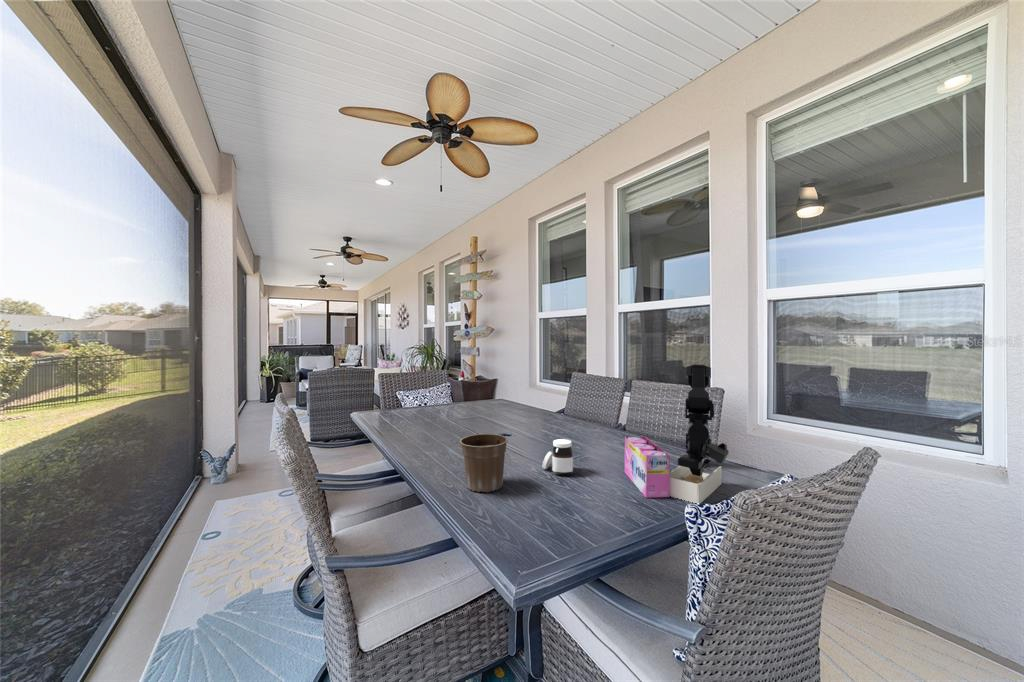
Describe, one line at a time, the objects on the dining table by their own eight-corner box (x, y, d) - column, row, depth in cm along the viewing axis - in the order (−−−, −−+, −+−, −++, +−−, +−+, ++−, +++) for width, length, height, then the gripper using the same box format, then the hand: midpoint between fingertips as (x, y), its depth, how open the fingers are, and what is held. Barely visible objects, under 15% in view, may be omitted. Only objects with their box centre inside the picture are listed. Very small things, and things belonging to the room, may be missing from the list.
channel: (663, 494, 131) (663, 476, 131) (688, 476, 147) (688, 459, 147) (699, 504, 123) (699, 485, 123) (721, 483, 139) (721, 466, 139)
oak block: (685, 489, 128) (685, 477, 128) (690, 486, 131) (690, 473, 131) (698, 493, 125) (698, 480, 125) (703, 489, 128) (703, 476, 128)
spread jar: (574, 477, 146) (574, 445, 146) (543, 477, 146) (542, 445, 146) (570, 466, 158) (570, 436, 158) (541, 466, 158) (541, 436, 158)
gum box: (622, 471, 152) (622, 435, 151) (643, 470, 152) (643, 434, 151) (645, 498, 128) (646, 455, 127) (670, 497, 128) (670, 454, 127)
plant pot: (450, 486, 138) (450, 440, 138) (485, 474, 150) (484, 430, 150) (483, 500, 127) (482, 449, 127) (517, 485, 139) (517, 438, 139)
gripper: (715, 445, 118) (715, 498, 119) (734, 432, 132) (733, 480, 132) (677, 438, 126) (677, 488, 126) (698, 427, 139) (698, 472, 140)
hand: (698, 482), depth 131 cm, fingers closed
